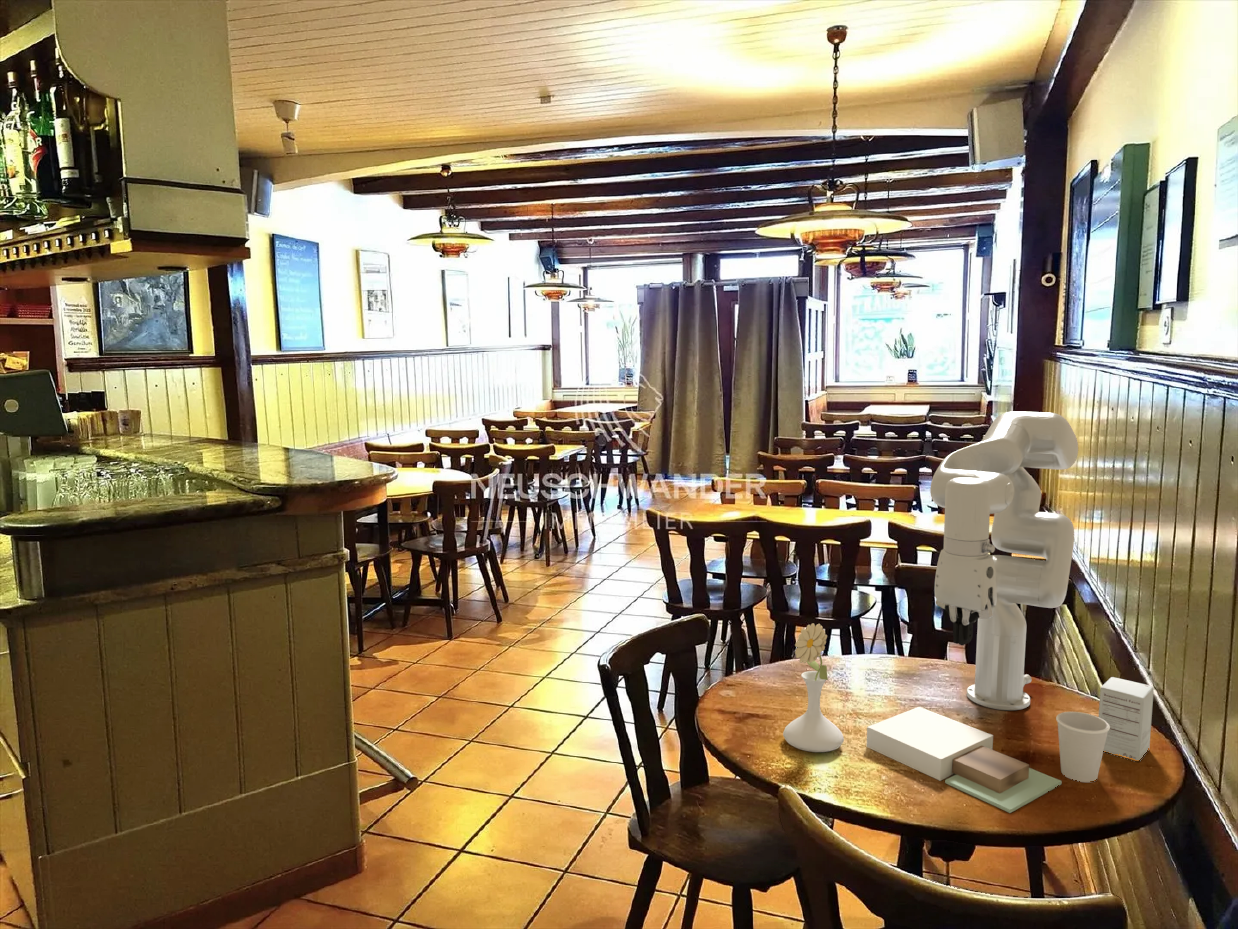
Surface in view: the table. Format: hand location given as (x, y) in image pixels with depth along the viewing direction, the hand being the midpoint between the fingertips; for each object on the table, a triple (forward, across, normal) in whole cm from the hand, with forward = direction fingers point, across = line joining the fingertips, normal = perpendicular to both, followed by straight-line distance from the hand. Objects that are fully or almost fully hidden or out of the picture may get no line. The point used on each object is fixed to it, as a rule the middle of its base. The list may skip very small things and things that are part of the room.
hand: (962, 642), depth 157 cm
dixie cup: (+22, -18, -9) cm, 30 cm away
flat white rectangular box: (+21, +3, +4) cm, 22 cm away
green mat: (+21, -12, +5) cm, 25 cm away
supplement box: (+22, -19, -25) cm, 38 cm away
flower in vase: (+21, +18, +20) cm, 34 cm away
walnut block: (+21, -9, +5) cm, 23 cm away
